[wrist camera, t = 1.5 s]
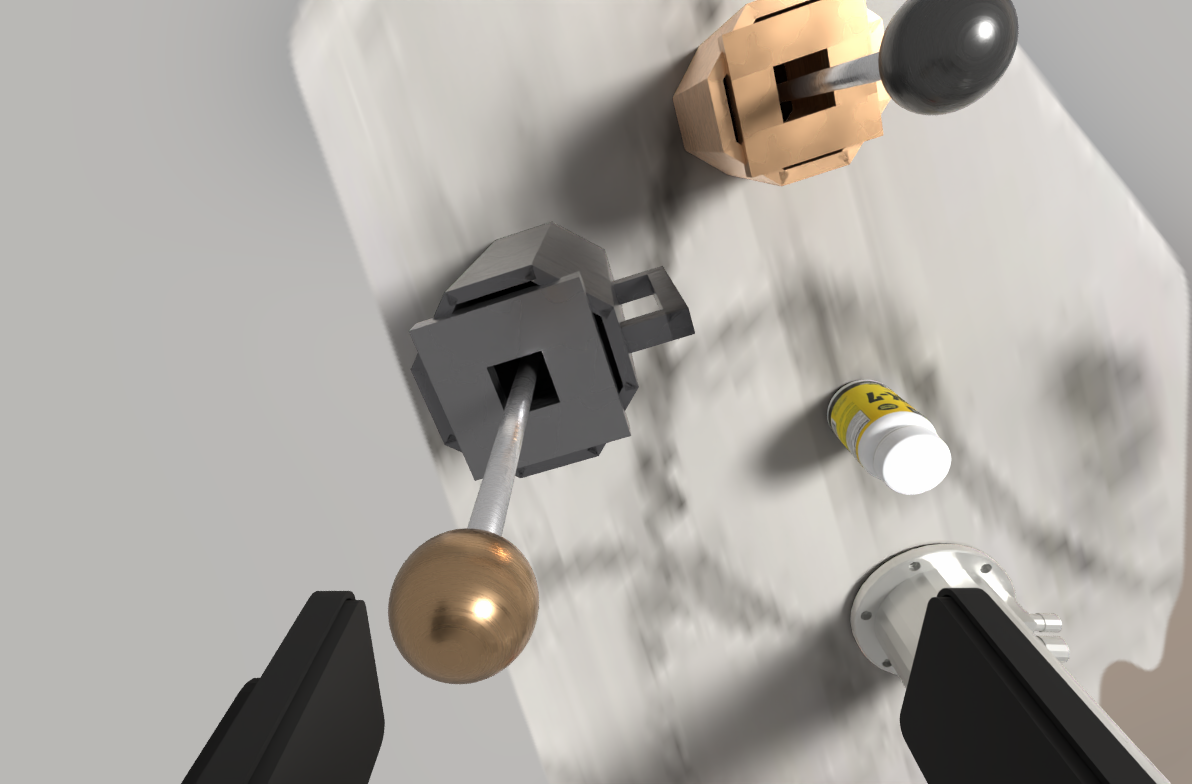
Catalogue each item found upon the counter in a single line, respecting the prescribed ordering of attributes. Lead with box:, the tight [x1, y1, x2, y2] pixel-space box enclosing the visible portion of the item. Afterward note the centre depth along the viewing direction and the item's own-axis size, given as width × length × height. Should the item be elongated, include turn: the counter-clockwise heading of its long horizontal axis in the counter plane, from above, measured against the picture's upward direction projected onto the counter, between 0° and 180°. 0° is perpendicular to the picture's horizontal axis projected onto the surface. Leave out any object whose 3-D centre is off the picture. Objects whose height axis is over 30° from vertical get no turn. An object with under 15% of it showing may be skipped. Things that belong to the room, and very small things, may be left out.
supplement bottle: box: [827, 380, 951, 495], centre depth 40 cm, size 5×5×8 cm
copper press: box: [672, 0, 891, 186], centre depth 31 cm, size 10×7×12 cm
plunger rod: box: [388, 351, 542, 684], centre depth 22 cm, size 3×3×21 cm
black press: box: [409, 222, 695, 481], centre depth 33 cm, size 12×9×16 cm
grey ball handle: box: [776, 0, 1018, 115], centre depth 22 cm, size 3×3×17 cm
